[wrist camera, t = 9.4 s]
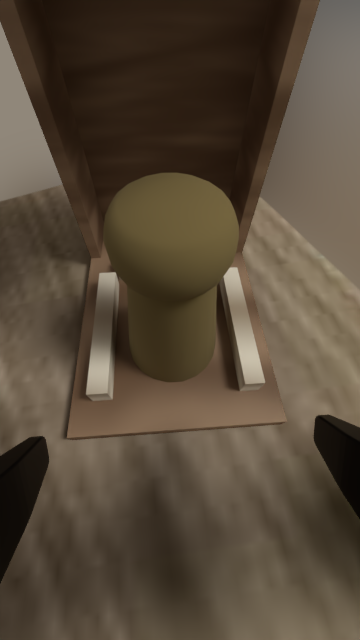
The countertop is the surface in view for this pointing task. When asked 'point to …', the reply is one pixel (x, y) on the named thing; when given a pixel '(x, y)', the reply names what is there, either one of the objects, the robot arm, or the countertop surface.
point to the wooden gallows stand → (162, 157)
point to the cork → (171, 268)
